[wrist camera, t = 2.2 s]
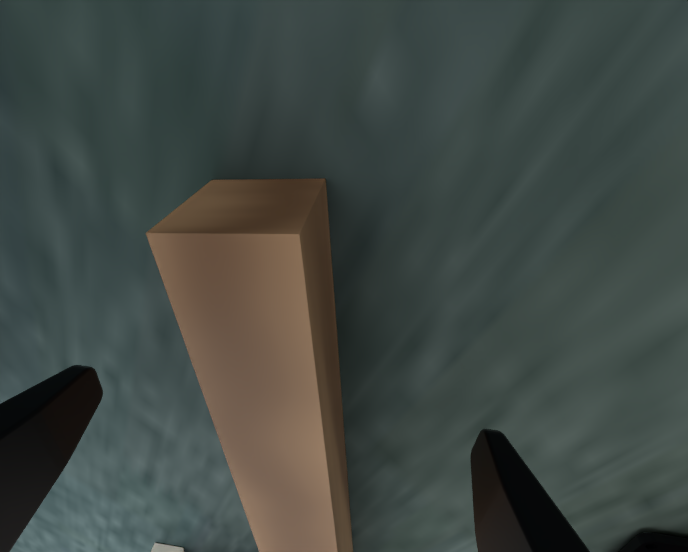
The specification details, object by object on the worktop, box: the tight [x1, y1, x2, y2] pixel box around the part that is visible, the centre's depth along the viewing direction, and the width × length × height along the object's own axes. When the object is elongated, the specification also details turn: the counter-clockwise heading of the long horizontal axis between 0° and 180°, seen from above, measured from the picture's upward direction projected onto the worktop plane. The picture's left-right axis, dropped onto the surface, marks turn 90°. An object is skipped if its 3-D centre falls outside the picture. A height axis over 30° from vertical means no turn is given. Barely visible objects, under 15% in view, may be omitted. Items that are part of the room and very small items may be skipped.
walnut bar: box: [146, 179, 353, 552], centre depth 16 cm, size 4×24×4 cm, turn 2°
